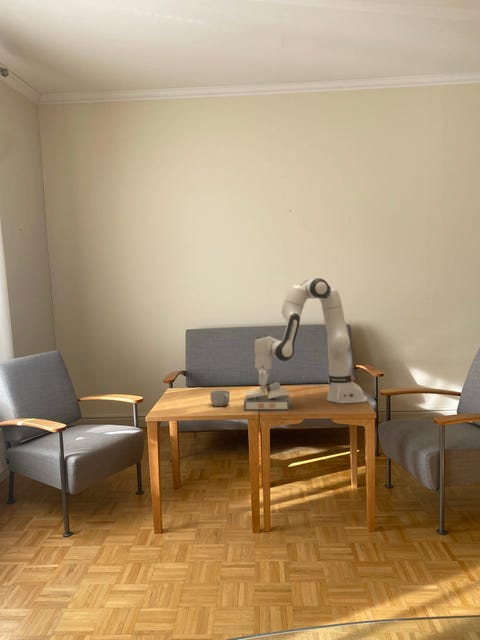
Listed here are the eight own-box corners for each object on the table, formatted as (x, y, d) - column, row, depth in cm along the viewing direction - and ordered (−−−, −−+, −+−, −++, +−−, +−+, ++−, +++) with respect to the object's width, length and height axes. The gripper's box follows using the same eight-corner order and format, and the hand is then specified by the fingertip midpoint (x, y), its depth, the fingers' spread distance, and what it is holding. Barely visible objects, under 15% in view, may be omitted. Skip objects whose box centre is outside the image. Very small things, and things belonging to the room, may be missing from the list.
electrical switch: (274, 400, 315) (272, 384, 315) (266, 400, 318) (265, 384, 318) (283, 397, 322) (281, 381, 322) (276, 397, 326) (274, 381, 325)
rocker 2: (287, 389, 304) (286, 386, 304) (286, 394, 293) (285, 391, 293) (269, 394, 306) (269, 391, 305) (268, 399, 295) (267, 396, 295)
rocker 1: (265, 390, 306) (265, 387, 306) (264, 395, 295) (263, 392, 295) (248, 393, 307) (247, 390, 307) (246, 398, 296) (245, 395, 296)
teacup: (208, 404, 312) (207, 390, 312) (226, 402, 316) (225, 388, 315) (216, 409, 299) (215, 395, 298) (234, 407, 303) (234, 393, 302)
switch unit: (289, 403, 306) (289, 391, 306) (289, 410, 292) (288, 397, 291) (246, 404, 309) (246, 392, 308) (244, 410, 295) (243, 398, 294)
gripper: (267, 368, 288) (268, 394, 289) (270, 361, 308) (270, 386, 310) (255, 368, 289) (256, 394, 290) (258, 361, 309) (259, 386, 310)
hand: (263, 389), depth 300 cm, fingers open, 8 cm apart
